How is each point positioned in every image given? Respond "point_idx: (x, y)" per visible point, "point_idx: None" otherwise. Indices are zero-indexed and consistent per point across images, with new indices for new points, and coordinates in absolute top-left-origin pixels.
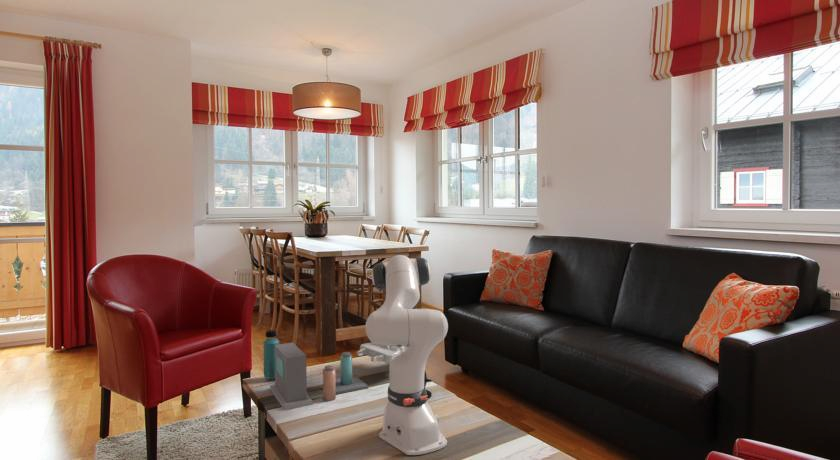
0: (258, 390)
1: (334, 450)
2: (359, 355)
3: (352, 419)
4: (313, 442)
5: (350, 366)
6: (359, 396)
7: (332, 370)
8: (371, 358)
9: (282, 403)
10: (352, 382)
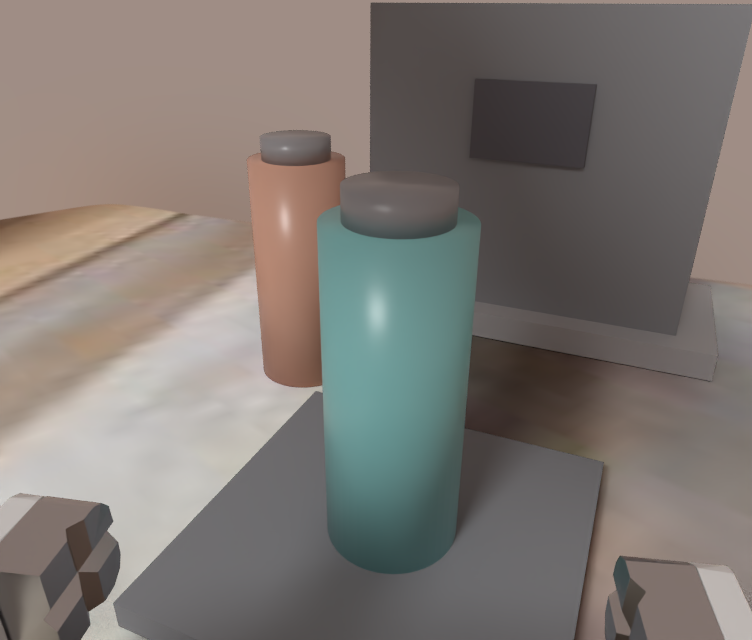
0: (711, 285)
1: (2, 222)
2: (609, 622)
3: (20, 308)
4: (101, 221)
5: (321, 343)
6: (116, 465)
7: (258, 158)
8: (104, 517)
9: None
10: (352, 569)
